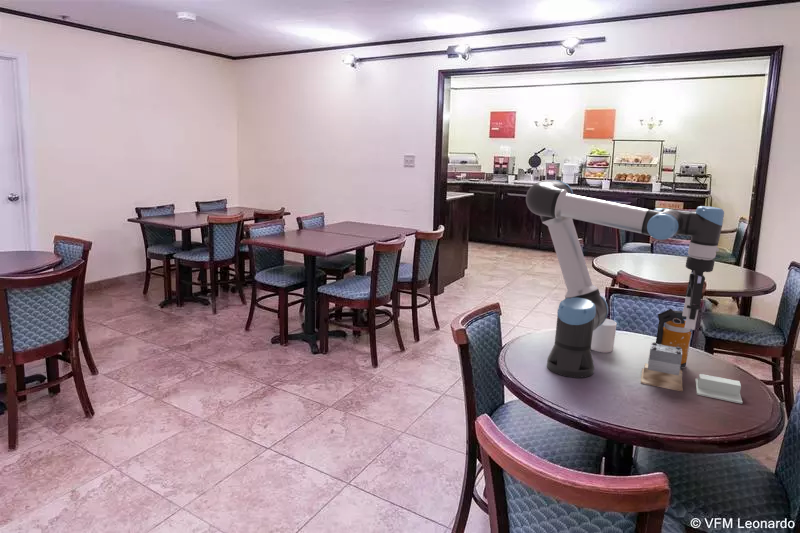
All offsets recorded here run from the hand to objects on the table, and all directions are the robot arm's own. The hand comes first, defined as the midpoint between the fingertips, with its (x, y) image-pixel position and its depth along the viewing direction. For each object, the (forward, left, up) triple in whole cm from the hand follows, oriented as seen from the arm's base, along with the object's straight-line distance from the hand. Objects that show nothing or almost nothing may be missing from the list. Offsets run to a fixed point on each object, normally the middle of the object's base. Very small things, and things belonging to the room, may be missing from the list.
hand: (688, 322), depth 171 cm
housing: (-5, -2, -16) cm, 17 cm away
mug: (-25, +19, -20) cm, 37 cm away
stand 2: (+11, -2, -20) cm, 23 cm away
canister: (-3, +14, -20) cm, 25 cm away
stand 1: (-5, -2, -20) cm, 21 cm away
